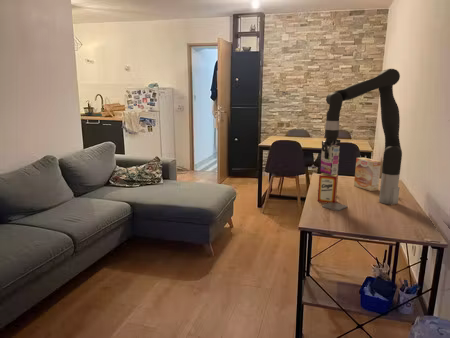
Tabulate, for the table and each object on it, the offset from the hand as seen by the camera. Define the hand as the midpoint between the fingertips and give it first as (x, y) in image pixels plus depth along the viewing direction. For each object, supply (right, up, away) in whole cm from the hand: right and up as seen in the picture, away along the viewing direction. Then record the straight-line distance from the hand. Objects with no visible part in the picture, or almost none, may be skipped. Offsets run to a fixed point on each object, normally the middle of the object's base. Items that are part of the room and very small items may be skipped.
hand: (330, 158), depth 201 cm
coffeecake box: (+34, -19, +35) cm, 53 cm away
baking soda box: (0, -25, +5) cm, 26 cm away
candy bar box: (0, -9, +2) cm, 9 cm away
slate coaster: (+1, -27, -6) cm, 28 cm away
